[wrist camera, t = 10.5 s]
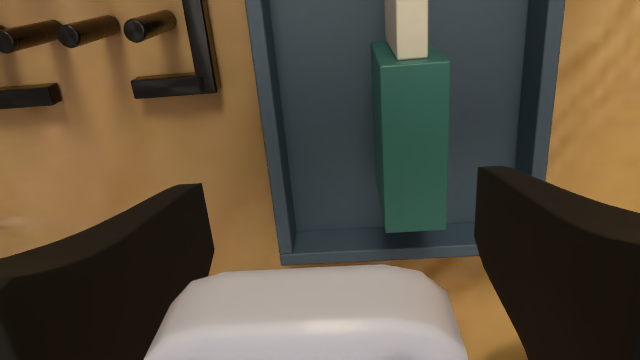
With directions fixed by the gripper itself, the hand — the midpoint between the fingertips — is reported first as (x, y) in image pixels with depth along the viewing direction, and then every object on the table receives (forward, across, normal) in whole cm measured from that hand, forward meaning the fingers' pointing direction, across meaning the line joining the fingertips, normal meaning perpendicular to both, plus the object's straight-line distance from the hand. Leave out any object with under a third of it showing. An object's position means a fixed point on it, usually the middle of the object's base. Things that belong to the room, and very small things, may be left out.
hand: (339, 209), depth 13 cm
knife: (+9, -3, -4) cm, 10 cm away
